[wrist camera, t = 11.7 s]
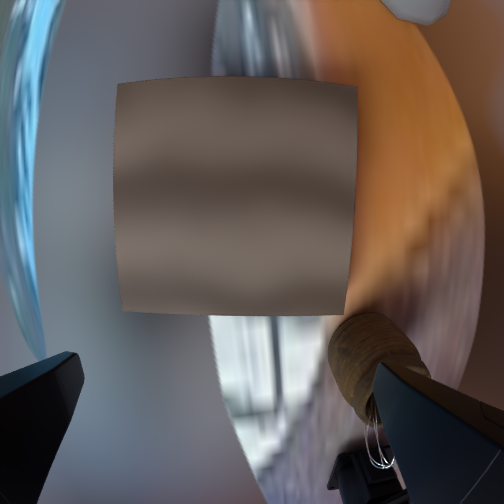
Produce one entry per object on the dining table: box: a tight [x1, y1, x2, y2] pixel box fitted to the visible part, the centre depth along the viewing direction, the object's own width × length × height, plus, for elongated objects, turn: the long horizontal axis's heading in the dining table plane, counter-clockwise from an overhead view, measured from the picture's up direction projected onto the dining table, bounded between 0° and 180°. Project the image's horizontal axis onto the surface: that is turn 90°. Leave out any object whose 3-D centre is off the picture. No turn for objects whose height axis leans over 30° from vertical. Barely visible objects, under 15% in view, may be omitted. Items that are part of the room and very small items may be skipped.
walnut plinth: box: [113, 76, 357, 316], centre depth 18 cm, size 14×14×2 cm
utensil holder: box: [328, 313, 431, 469], centre depth 17 cm, size 6×6×12 cm
